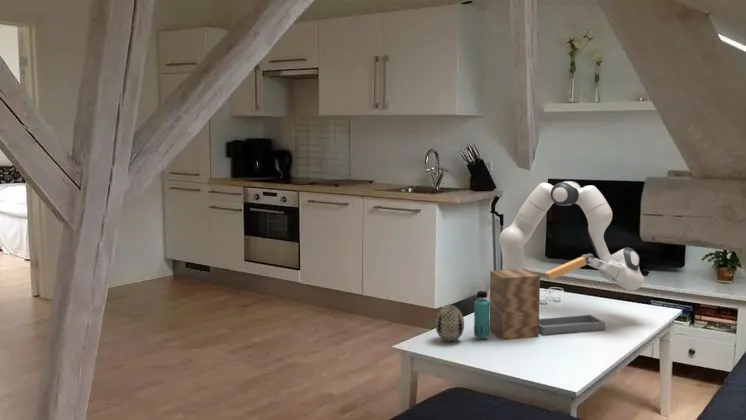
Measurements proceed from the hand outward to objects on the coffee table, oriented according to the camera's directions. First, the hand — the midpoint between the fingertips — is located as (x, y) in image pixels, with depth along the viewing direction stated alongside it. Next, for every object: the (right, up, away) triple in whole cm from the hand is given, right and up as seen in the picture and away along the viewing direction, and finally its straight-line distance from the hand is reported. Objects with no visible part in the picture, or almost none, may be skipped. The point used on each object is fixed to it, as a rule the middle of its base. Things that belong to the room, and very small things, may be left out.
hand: (585, 257), depth 302 cm
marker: (-7, -5, -1) cm, 8 cm away
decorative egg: (-59, -33, -12) cm, 69 cm away
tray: (-7, -31, +3) cm, 32 cm away
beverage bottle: (-46, -33, -10) cm, 57 cm away
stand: (-31, -32, -3) cm, 45 cm away
